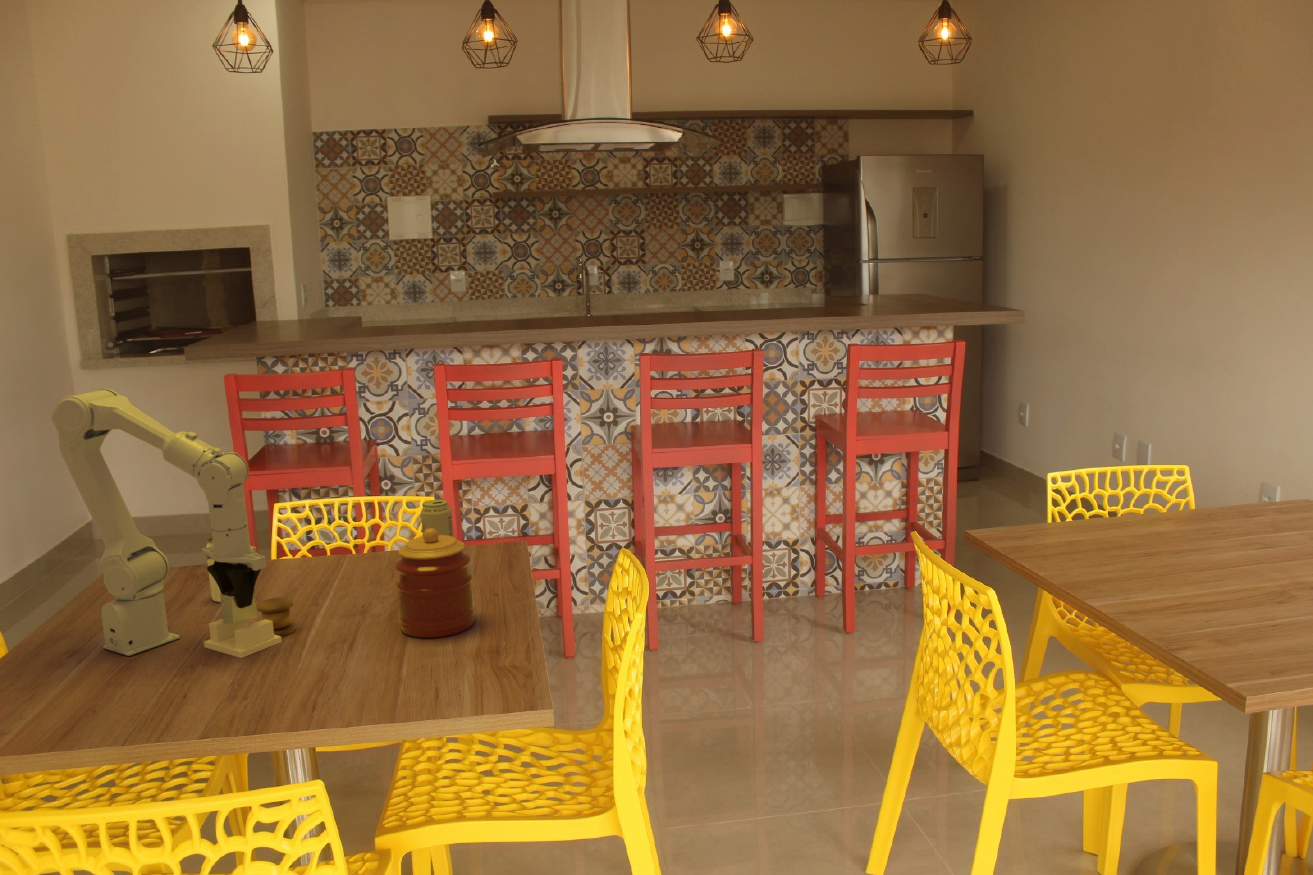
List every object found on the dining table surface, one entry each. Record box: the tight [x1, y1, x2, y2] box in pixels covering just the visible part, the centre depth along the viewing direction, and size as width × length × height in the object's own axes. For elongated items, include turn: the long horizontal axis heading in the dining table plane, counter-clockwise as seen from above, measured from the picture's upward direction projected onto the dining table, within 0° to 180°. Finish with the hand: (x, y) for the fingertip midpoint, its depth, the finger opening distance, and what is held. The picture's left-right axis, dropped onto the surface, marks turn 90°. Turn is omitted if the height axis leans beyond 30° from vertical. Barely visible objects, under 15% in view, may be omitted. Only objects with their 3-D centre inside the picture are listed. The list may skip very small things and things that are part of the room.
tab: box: [220, 589, 258, 625], centre depth 178 cm, size 3×4×5 cm, turn 146°
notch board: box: [203, 618, 282, 659], centre depth 179 cm, size 8×10×4 cm
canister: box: [394, 528, 476, 639], centre depth 183 cm, size 13×13×18 cm
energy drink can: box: [420, 499, 454, 537], centre depth 213 cm, size 6×6×15 cm
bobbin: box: [256, 597, 297, 638], centre depth 185 cm, size 6×6×5 cm
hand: (238, 604), depth 178 cm, fingers closed on tab, 3 cm apart
